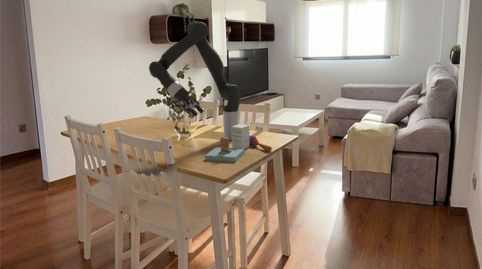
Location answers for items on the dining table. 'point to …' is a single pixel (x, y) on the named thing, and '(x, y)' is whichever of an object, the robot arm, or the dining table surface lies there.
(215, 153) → the board
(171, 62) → the robot arm
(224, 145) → the peg
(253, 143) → the kendama
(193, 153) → the dining table surface
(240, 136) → the supplement box
